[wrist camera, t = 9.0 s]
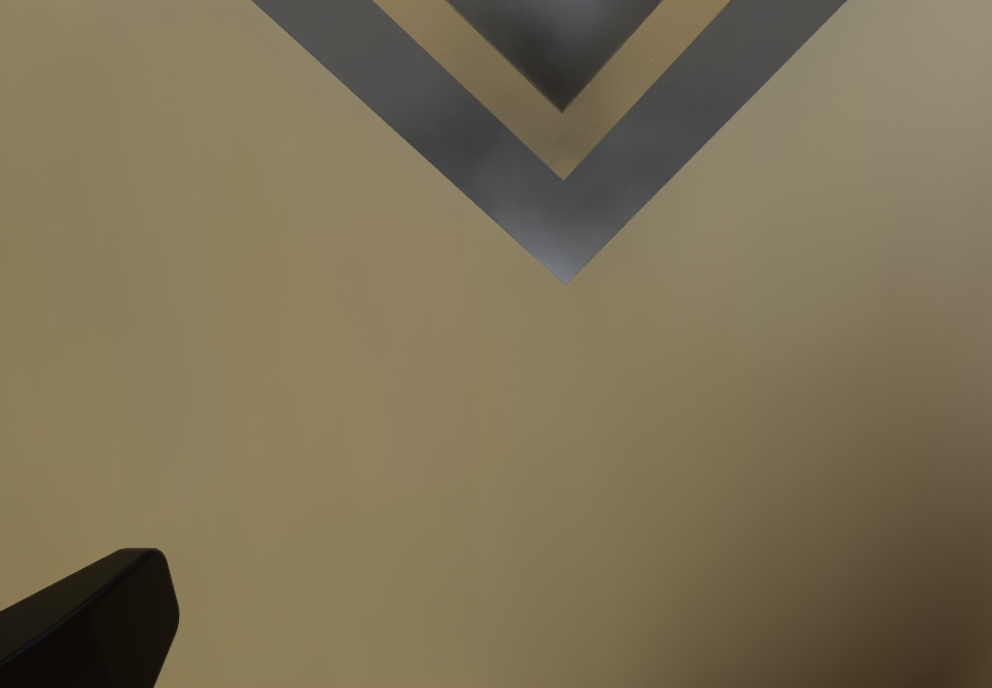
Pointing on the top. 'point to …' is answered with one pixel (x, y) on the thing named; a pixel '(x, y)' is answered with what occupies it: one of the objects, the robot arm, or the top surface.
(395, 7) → the picture frame
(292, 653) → the top surface
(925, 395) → the top surface
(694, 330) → the top surface
